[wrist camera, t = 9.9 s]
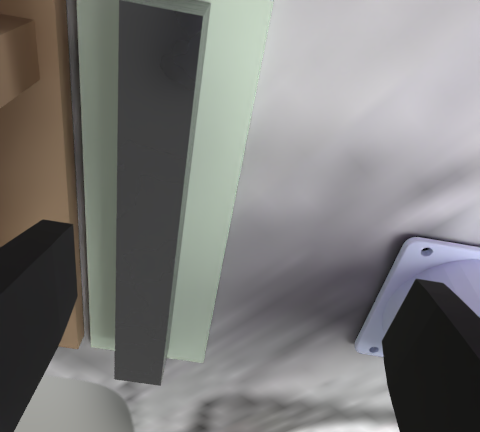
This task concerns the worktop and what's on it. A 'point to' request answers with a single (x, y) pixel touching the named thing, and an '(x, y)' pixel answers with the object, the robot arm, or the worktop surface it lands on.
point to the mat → (202, 167)
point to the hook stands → (37, 129)
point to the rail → (153, 171)
